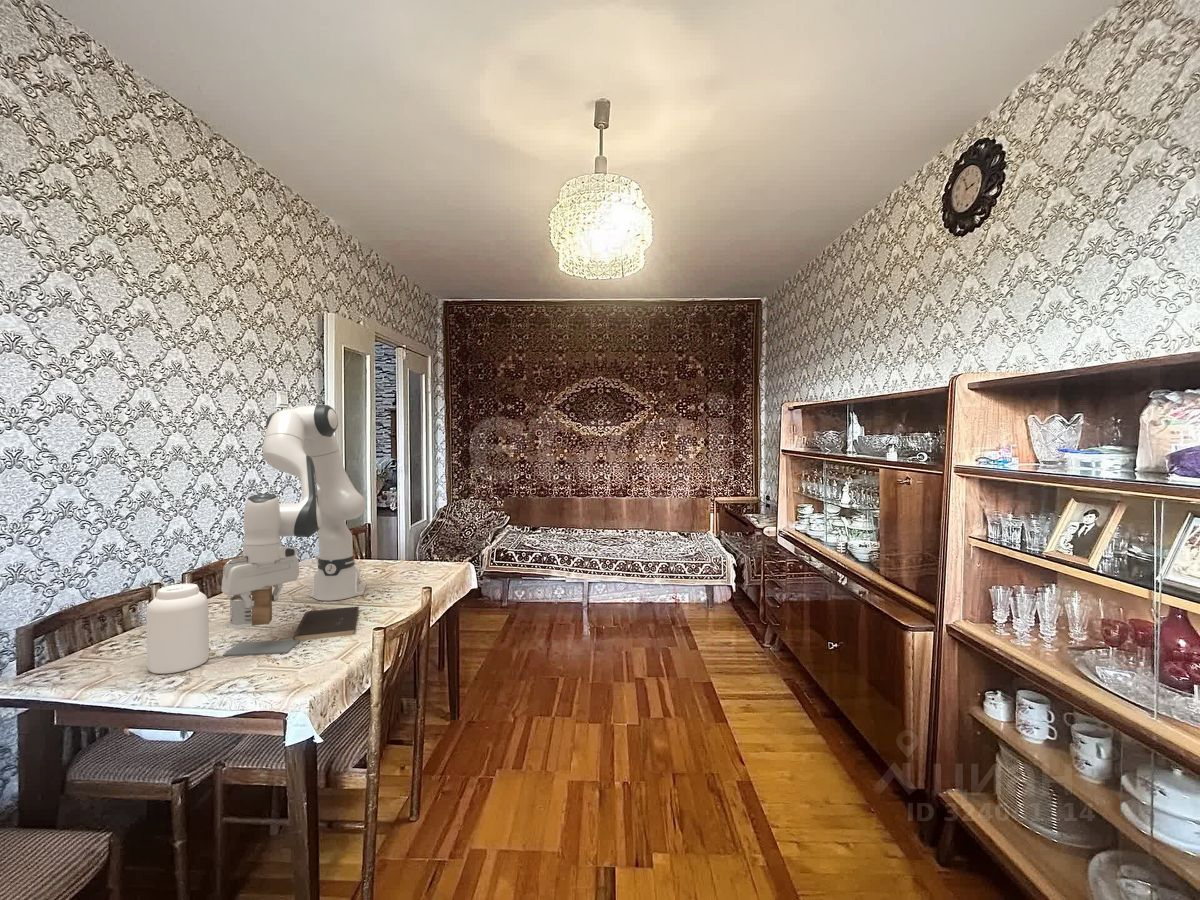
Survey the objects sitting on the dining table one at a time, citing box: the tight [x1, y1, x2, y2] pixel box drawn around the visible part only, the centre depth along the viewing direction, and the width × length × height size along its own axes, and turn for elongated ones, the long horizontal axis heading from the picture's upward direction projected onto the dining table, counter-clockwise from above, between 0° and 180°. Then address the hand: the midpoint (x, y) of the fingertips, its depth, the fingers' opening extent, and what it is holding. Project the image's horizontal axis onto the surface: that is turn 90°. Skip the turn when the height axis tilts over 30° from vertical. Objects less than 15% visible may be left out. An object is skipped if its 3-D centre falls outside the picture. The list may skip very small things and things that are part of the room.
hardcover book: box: [292, 605, 360, 641], centre depth 172 cm, size 16×23×2 cm
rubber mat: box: [222, 639, 302, 657], centre depth 153 cm, size 9×16×1 cm, turn 98°
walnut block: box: [251, 586, 273, 626], centre depth 154 cm, size 4×4×10 cm
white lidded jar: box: [146, 583, 210, 675], centre depth 142 cm, size 12×12×20 cm
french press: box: [226, 543, 256, 629], centre depth 175 cm, size 10×12×25 cm
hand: (262, 603), depth 154 cm, fingers closed on walnut block, 6 cm apart
